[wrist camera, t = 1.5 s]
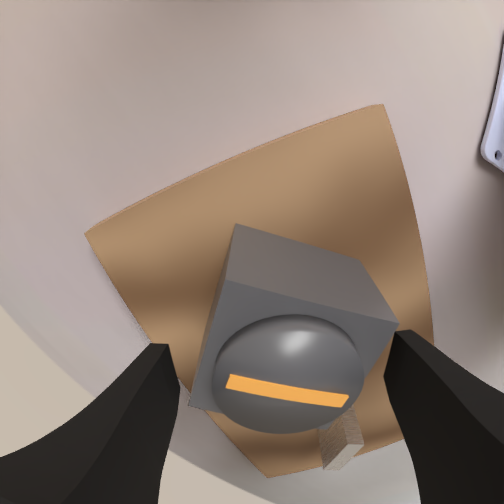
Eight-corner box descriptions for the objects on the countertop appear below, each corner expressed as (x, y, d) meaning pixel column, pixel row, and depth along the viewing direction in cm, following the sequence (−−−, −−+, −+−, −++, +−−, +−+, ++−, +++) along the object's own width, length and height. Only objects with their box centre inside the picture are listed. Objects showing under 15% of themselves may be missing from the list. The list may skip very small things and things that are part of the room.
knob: (359, 259, 13) (410, 341, 8) (312, 355, 15) (330, 448, 10) (235, 222, 12) (222, 298, 7) (204, 329, 14) (184, 425, 9)
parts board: (96, 224, 14) (84, 233, 12) (372, 105, 11) (383, 104, 10) (266, 465, 21) (267, 478, 20) (429, 413, 19) (435, 425, 18)
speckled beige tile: (353, 403, 16) (364, 444, 13) (331, 431, 17) (339, 469, 15) (338, 402, 16) (348, 444, 13) (317, 429, 17) (323, 469, 14)
